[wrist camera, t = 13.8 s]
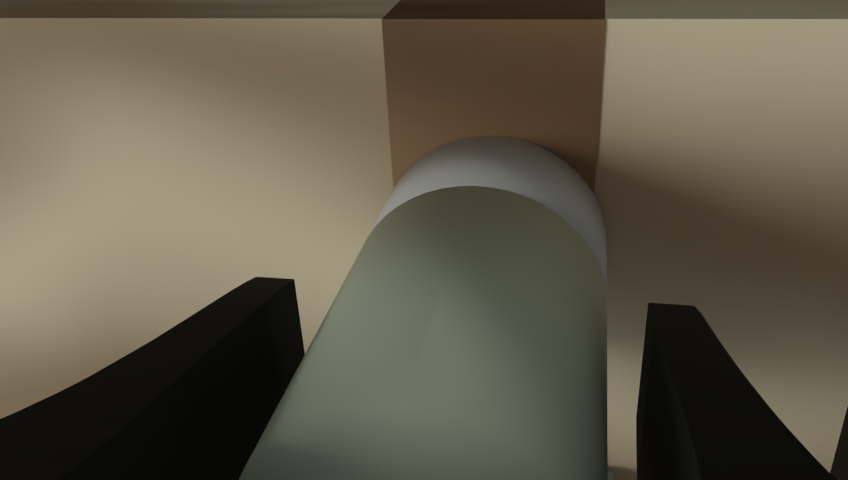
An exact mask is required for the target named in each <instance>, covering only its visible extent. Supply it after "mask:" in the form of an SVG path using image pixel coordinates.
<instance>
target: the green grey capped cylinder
mask: <svg viewBox="0 0 848 480" xmlns="http://www.w3.org/2000/svg"><path fill="white" fill-rule="evenodd" d="M239 480H608V445H607V232H606V226H605V220H604V216H603V213H602V210H601V207H600V205H599V203H598V201H597V199H596V197H595V195H594V193H593V191H592V190H591V188H590V187H589V185H588V184H587V183H586V181H585V180H584V179H583V178H582V177H581V176H580V175H579V173H578V172H577V171H576V170H575V169H573V168H572V167H571V166H570V165H569V164H568V163H566V162H565V161H564V160H562V159H561V158H559V157H558V156H556V155H555V154H553V153H552V152H550V151H548V150H546V149H544V148H542V147H540V146H538V145H535V144H532V143H529V142H526V141H523V140H519V139H514V138H509V137H501V136H475V137H468V138H462V139H458V140H455V141H452V142H448V143H446V144H443V145H441V146H439V147H437V148H434V149H433V150H431V151H429V152H428V153H426V154H424V155H423V156H421V157H420V158H419V159H418V160H417V161H415V162H414V163H413V164H412V165H411V166H410V167H409V168H408V169H407V170H406V171H405V172H404V173H403V175H402V176H401V177H400V179H399V180H398V182H397V183H396V185H395V187H394V189H393V190H392V192H391V194H390V196H389V198H388V200H387V202H386V203H385V205H384V207H383V209H382V211H381V213H380V215H379V217H378V218H377V220H376V222H375V224H374V226H373V228H372V230H371V232H370V233H369V235H368V237H367V239H366V241H365V243H364V245H363V247H362V248H361V250H360V252H359V254H358V256H357V258H356V260H355V262H354V263H353V265H352V267H351V269H350V271H349V273H348V275H347V277H346V278H345V280H344V282H343V284H342V286H341V288H340V290H339V292H338V293H337V295H336V297H335V299H334V301H333V303H332V305H331V307H330V308H329V310H328V312H327V314H326V316H325V318H324V320H323V322H322V323H321V325H320V327H319V329H318V331H317V333H316V335H315V337H314V338H313V340H312V342H311V344H310V346H309V348H308V350H307V352H306V353H305V355H304V357H303V359H302V361H301V363H300V365H299V367H298V368H297V370H296V372H295V374H294V376H293V378H292V380H291V382H290V383H289V385H288V387H287V389H286V391H285V393H284V395H283V397H282V398H281V400H280V402H279V404H278V406H277V408H276V410H275V412H274V413H273V415H272V417H271V419H270V421H269V423H268V425H267V427H266V428H265V430H264V432H263V434H262V436H261V438H260V440H259V442H258V443H257V445H256V447H255V449H254V451H253V453H252V455H251V457H250V458H249V460H248V462H247V464H246V466H245V468H244V470H243V472H242V474H241V476H240V478H239Z"/></svg>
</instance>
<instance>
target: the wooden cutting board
mask: <svg viewBox="0 0 848 480" xmlns="http://www.w3.org/2000/svg"><path fill="white" fill-rule="evenodd" d="M475 136H501V137H509V138H514V139H519V140H523V141H526V142H529V143H532V144H535V145H538V146H540V147H542V148H544V149H546V150H548V151H550V152H552V153H553V154H555V155H556V156H558V157H559V158H561V159H562V160H564V161H565V162H566V163H568V164H569V165H570V166H571V167H572V168H573V169H575V170H576V171H577V172H578V173H579V175H580V176H581V177H582V178H583V179H584V180H585V181H586V183H587V184H588V185H589V187H590V188H591V190H592V191H593V193H594V195H595V197H596V199H597V201H598V203H599V205H600V207H601V210H602V213H603V216H604V220H605V226H606V232H607V445H608V471H612V472H613V480H637V456H636V414H637V405H638V395H639V386H640V376H641V367H642V357H643V348H644V338H645V329H646V319H647V309H648V303H662V304H677V305H692V306H695V307H696V308H697V309H698V310H699V311H700V312H701V313H702V315H703V316H704V318H705V319H706V321H707V323H708V324H709V326H710V327H711V329H712V330H713V332H714V333H715V335H716V336H717V338H718V339H719V341H720V342H721V344H722V345H723V346H724V348H725V349H726V351H727V352H728V353H729V355H730V356H731V358H732V359H733V360H734V362H735V363H736V365H737V366H738V367H739V369H740V370H741V371H742V373H743V374H744V375H745V377H746V378H747V379H748V380H749V382H750V383H751V384H752V386H753V387H754V388H755V389H756V391H757V392H758V393H759V394H760V396H761V397H762V398H763V399H764V401H765V402H766V403H767V404H768V406H769V407H770V408H771V409H772V410H773V412H774V413H775V414H776V415H777V416H778V417H779V419H780V420H781V421H782V422H783V423H784V425H785V426H786V427H787V428H788V429H789V430H790V431H791V432H792V433H793V435H794V436H795V437H796V438H797V439H798V440H799V441H800V442H801V443H802V444H803V446H804V447H805V448H806V449H807V450H808V451H809V452H810V453H811V454H812V455H813V456H814V457H815V458H816V459H817V461H818V462H819V463H820V464H821V465H822V466H823V467H824V468H825V469H826V470H827V471H828V472H829V473H830V471H831V467H832V464H833V460H834V456H835V452H836V448H837V445H838V441H839V437H840V433H841V429H842V426H843V422H844V418H845V414H846V411H847V407H848V0H0V419H1V418H4V417H6V416H8V415H11V414H13V413H15V412H17V411H20V410H22V409H24V408H26V407H28V406H30V405H32V404H35V403H37V402H39V401H41V400H43V399H45V398H47V397H50V396H52V395H54V394H56V393H58V392H60V391H62V390H64V389H66V388H68V387H70V386H72V385H74V384H76V383H78V382H80V381H81V380H83V379H85V378H87V377H89V376H91V375H93V374H95V373H96V372H98V371H100V370H101V369H103V368H105V367H107V366H108V365H110V364H112V363H114V362H115V361H117V360H119V359H121V358H122V357H124V356H126V355H128V354H129V353H131V352H133V351H135V350H136V349H138V348H140V347H142V346H143V345H145V344H147V343H149V342H150V341H152V340H153V339H155V338H157V337H158V336H160V335H161V334H163V333H165V332H166V331H168V330H169V329H171V328H173V327H174V326H176V325H177V324H179V323H181V322H182V321H184V320H185V319H187V318H189V317H190V316H192V315H193V314H195V313H196V312H198V311H200V310H201V309H203V308H204V307H206V306H207V305H209V304H211V303H212V302H214V301H215V300H217V299H219V298H220V297H222V296H223V295H225V294H227V293H228V292H230V291H231V290H233V289H235V288H236V287H238V286H240V285H241V284H243V283H245V282H247V281H249V280H251V279H253V278H255V277H269V278H284V279H294V281H295V288H296V295H297V302H298V309H299V316H300V323H301V331H302V338H303V345H304V352H305V353H306V352H307V350H308V348H309V346H310V344H311V342H312V340H313V338H314V337H315V335H316V333H317V331H318V329H319V327H320V325H321V323H322V322H323V320H324V318H325V316H326V314H327V312H328V310H329V308H330V307H331V305H332V303H333V301H334V299H335V297H336V295H337V293H338V292H339V290H340V288H341V286H342V284H343V282H344V280H345V278H346V277H347V275H348V273H349V271H350V269H351V267H352V265H353V263H354V262H355V260H356V258H357V256H358V254H359V252H360V250H361V248H362V247H363V245H364V243H365V241H366V239H367V237H368V235H369V233H370V232H371V230H372V228H373V226H374V224H375V222H376V220H377V218H378V217H379V215H380V213H381V211H382V209H383V207H384V205H385V203H386V202H387V200H388V198H389V196H390V194H391V192H392V190H393V189H394V187H395V185H396V183H397V182H398V180H399V179H400V177H401V176H402V175H403V173H404V172H405V171H406V170H407V169H408V168H409V167H410V166H411V165H412V164H413V163H414V162H415V161H417V160H418V159H419V158H420V157H421V156H423V155H424V154H426V153H428V152H429V151H431V150H433V149H434V148H437V147H439V146H441V145H443V144H446V143H448V142H452V141H455V140H458V139H462V138H468V137H475Z"/></svg>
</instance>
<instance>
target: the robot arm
mask: <svg viewBox="0 0 848 480" xmlns="http://www.w3.org/2000/svg"><path fill="white" fill-rule="evenodd" d="M304 355H305V352H304V345H303V338H302V331H301V323H300V316H299V309H298V302H297V295H296V288H295V281H294V279H284V278H269V277H255V278H253V279H251V280H249V281H247V282H245V283H243V284H241V285H240V286H238V287H236V288H235V289H233V290H231V291H230V292H228V293H227V294H225V295H223V296H222V297H220V298H219V299H217V300H215V301H214V302H212V303H211V304H209V305H207V306H206V307H204V308H203V309H201V310H200V311H198V312H196V313H195V314H193V315H192V316H190V317H189V318H187V319H185V320H184V321H182V322H181V323H179V324H177V325H176V326H174V327H173V328H171V329H169V330H168V331H166V332H165V333H163V334H161V335H160V336H158V337H157V338H155V339H153V340H152V341H150V342H149V343H147V344H145V345H143V346H142V347H140V348H138V349H136V350H135V351H133V352H131V353H129V354H128V355H126V356H124V357H122V358H121V359H119V360H117V361H115V362H114V363H112V364H110V365H108V366H107V367H105V368H103V369H101V370H100V371H98V372H96V373H95V374H93V375H91V376H89V377H87V378H85V379H83V380H81V381H80V382H78V383H76V384H74V385H72V386H70V387H68V388H66V389H64V390H62V391H60V392H58V393H56V394H54V395H52V396H50V397H47V398H45V399H43V400H41V401H39V402H37V403H35V404H32V405H30V406H28V407H26V408H24V409H22V410H20V411H17V412H15V413H13V414H11V415H8V416H6V417H4V418H1V419H0V480H239V478H240V476H241V474H242V472H243V470H244V468H245V466H246V464H247V462H248V460H249V458H250V457H251V455H252V453H253V451H254V449H255V447H256V445H257V443H258V442H259V440H260V438H261V436H262V434H263V432H264V430H265V428H266V427H267V425H268V423H269V421H270V419H271V417H272V415H273V413H274V412H275V410H276V408H277V406H278V404H279V402H280V400H281V398H282V397H283V395H284V393H285V391H286V389H287V387H288V385H289V383H290V382H291V380H292V378H293V376H294V374H295V372H296V370H297V368H298V367H299V365H300V363H301V361H302V359H303V357H304ZM636 456H637V480H837V479H836V478H835V477H834V476H833V475H832V474H830V473H829V472H828V471H827V470H826V469H825V468H824V467H823V466H822V465H821V464H820V463H819V462H818V461H817V459H816V458H815V457H814V456H813V455H812V454H811V453H810V452H809V451H808V450H807V449H806V448H805V447H804V446H803V444H802V443H801V442H800V441H799V440H798V439H797V438H796V437H795V436H794V435H793V433H792V432H791V431H790V430H789V429H788V428H787V427H786V426H785V425H784V423H783V422H782V421H781V420H780V419H779V417H778V416H777V415H776V414H775V413H774V412H773V410H772V409H771V408H770V407H769V406H768V404H767V403H766V402H765V401H764V399H763V398H762V397H761V396H760V394H759V393H758V392H757V391H756V389H755V388H754V387H753V386H752V384H751V383H750V382H749V380H748V379H747V378H746V377H745V375H744V374H743V373H742V371H741V370H740V369H739V367H738V366H737V365H736V363H735V362H734V360H733V359H732V358H731V356H730V355H729V353H728V352H727V351H726V349H725V348H724V346H723V345H722V344H721V342H720V341H719V339H718V338H717V336H716V335H715V333H714V332H713V330H712V329H711V327H710V326H709V324H708V323H707V321H706V319H705V318H704V316H703V315H702V313H701V312H700V311H699V310H698V309H697V308H696V307H695V306H692V305H677V304H662V303H648V309H647V319H646V329H645V338H644V348H643V357H642V367H641V376H640V386H639V395H638V405H637V414H636Z"/></svg>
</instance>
